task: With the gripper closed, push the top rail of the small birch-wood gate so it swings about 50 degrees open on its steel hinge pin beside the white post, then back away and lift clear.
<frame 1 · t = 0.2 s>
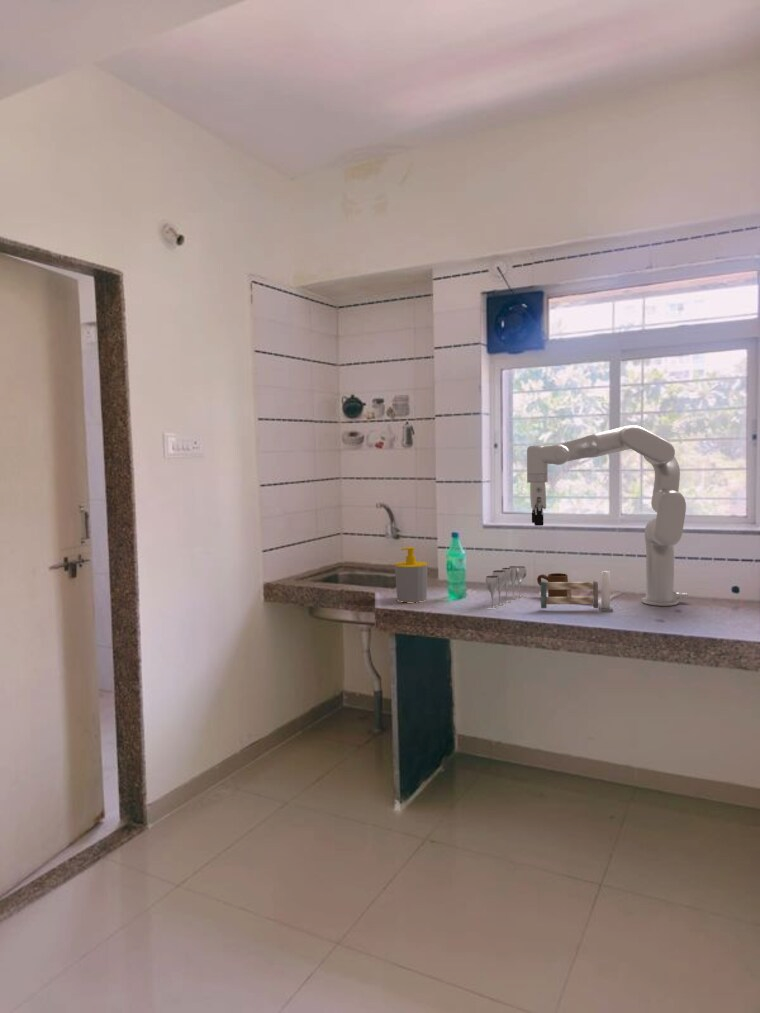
hand: (537, 524, 258), 30 cm above the worktop, tool pointing down, fingers open, 9 cm apart
gate post: (605, 610, 246), on the worktop
mug: (552, 598, 268), on the worktop
goblet set: (507, 602, 264), on the worktop
gate: (569, 594, 247), point 6 cm above the worktop, hinge at 0.0°
soap bottle: (411, 600, 272), on the worktop
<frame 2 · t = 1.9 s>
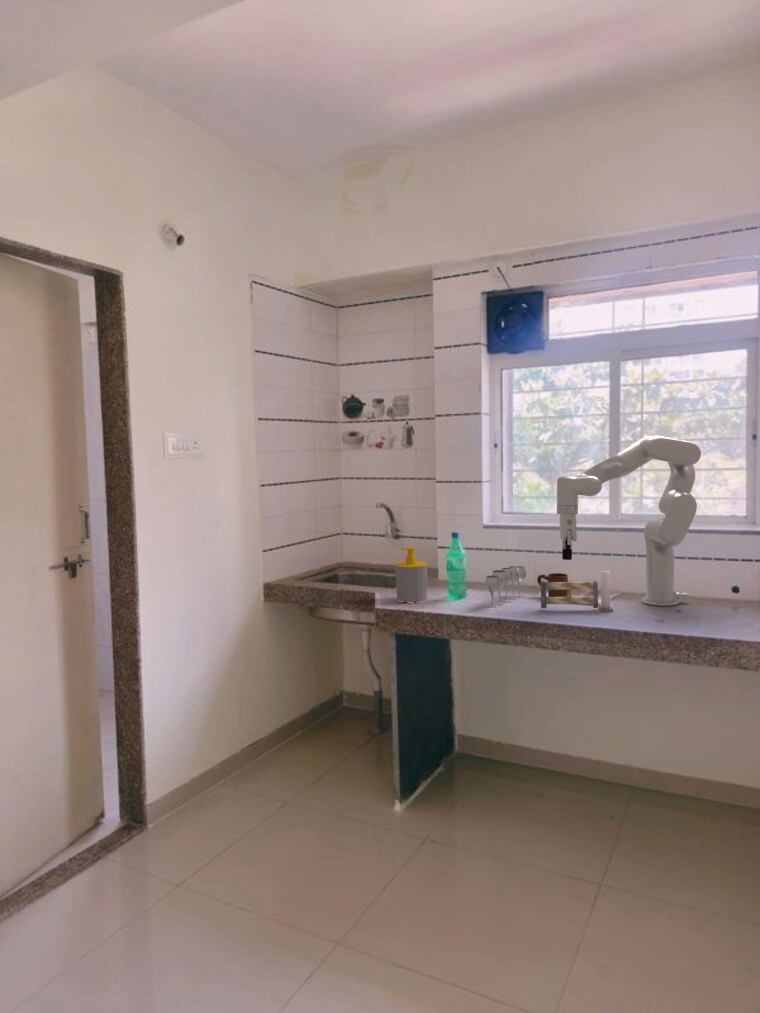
hand: (567, 559, 253), 17 cm above the worktop, tool pointing down, fingers closed
nothing on the worktop moved.
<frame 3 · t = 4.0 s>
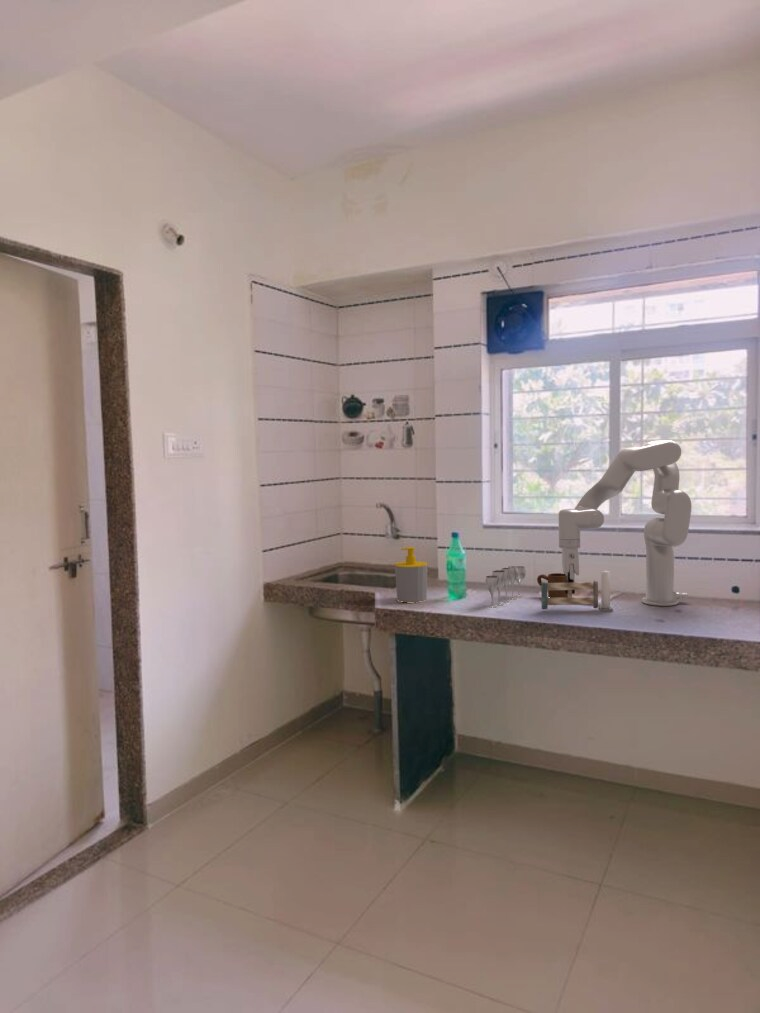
hand: (569, 593, 249), 6 cm above the worktop, tool pointing down, fingers closed
gate: (569, 595, 246), point 6 cm above the worktop, hinge at 5.3°, touching gripper
everything else where it was.
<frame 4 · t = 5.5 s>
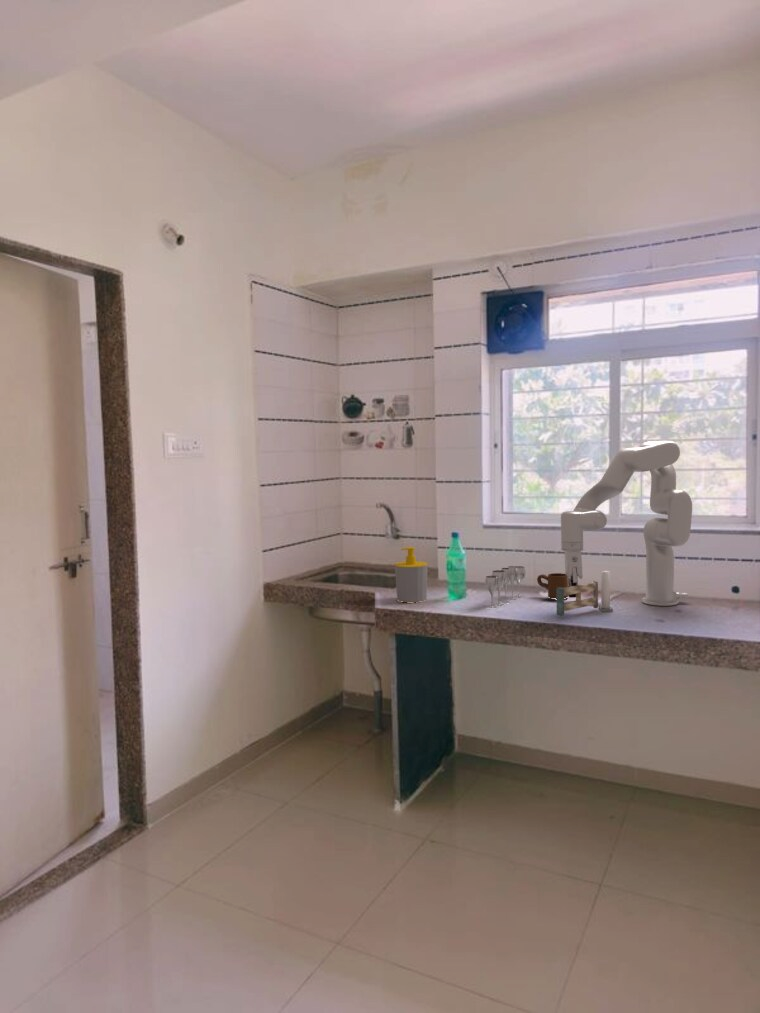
hand: (573, 596, 244), 5 cm above the worktop, tool pointing down, fingers closed
gate: (578, 598, 241), point 6 cm above the worktop, hinge at 39.9°, touching gripper
everything else where it was.
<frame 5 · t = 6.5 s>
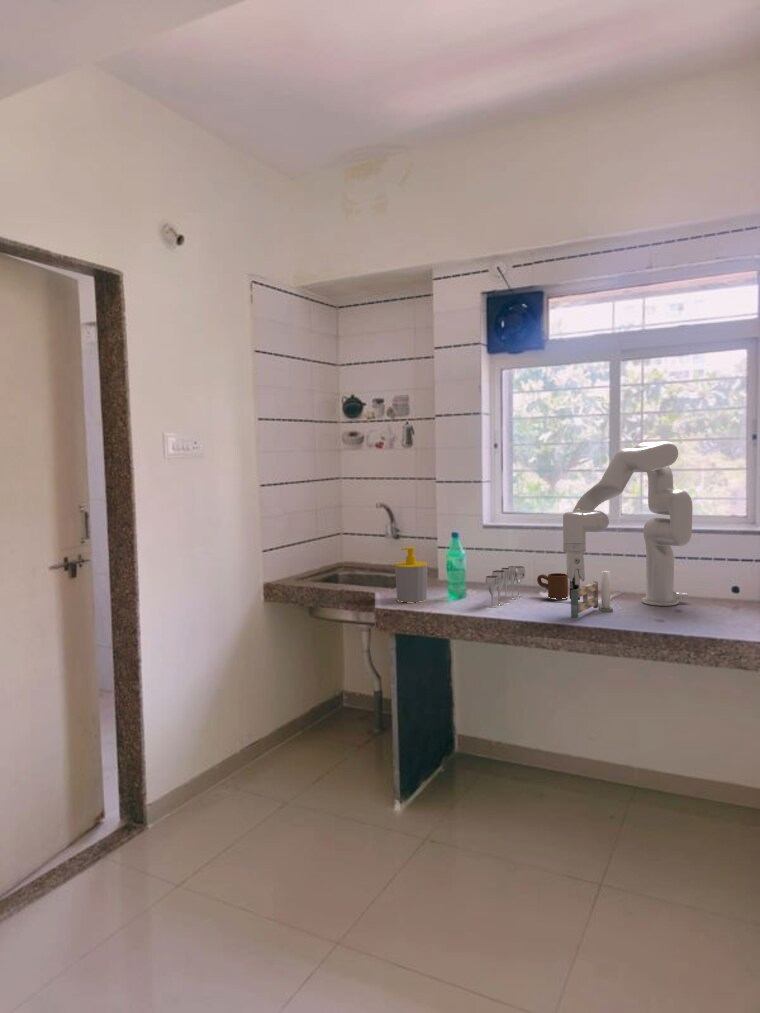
hand: (574, 599, 239), 6 cm above the worktop, tool pointing down, fingers closed
gate: (585, 599, 239), point 6 cm above the worktop, hinge at 57.4°, touching gripper
everything else where it was.
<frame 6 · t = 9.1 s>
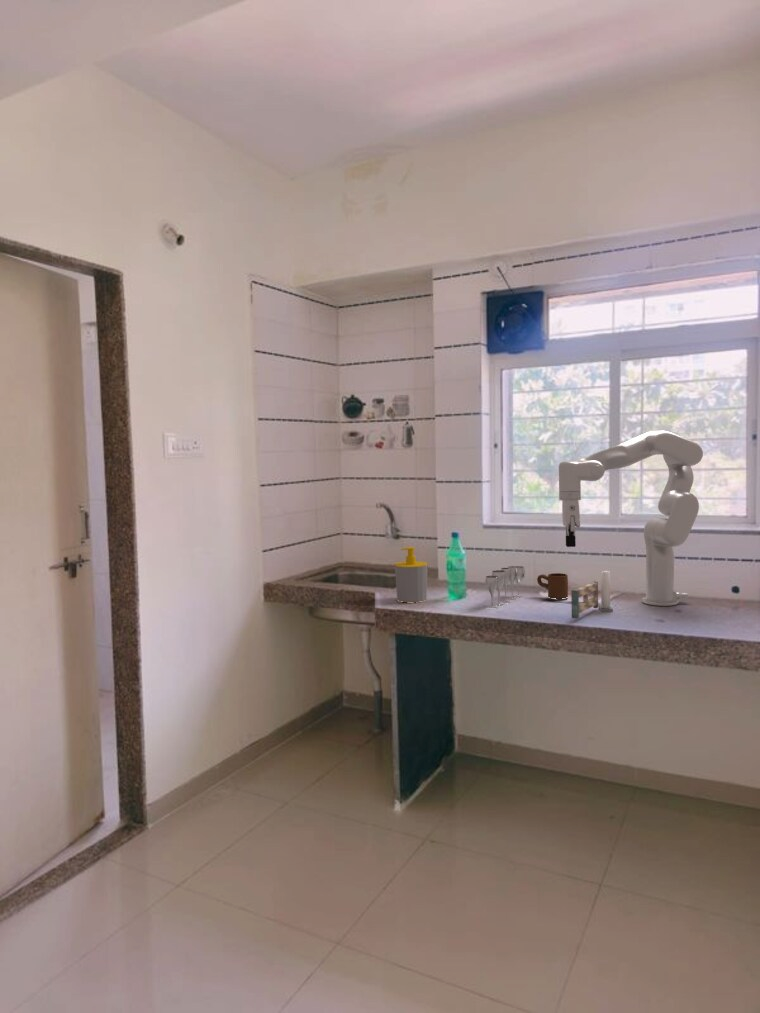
hand: (570, 546, 247), 23 cm above the worktop, tool pointing down, fingers closed
gate: (585, 599, 239), point 6 cm above the worktop, hinge at 58.0°
everything else where it was.
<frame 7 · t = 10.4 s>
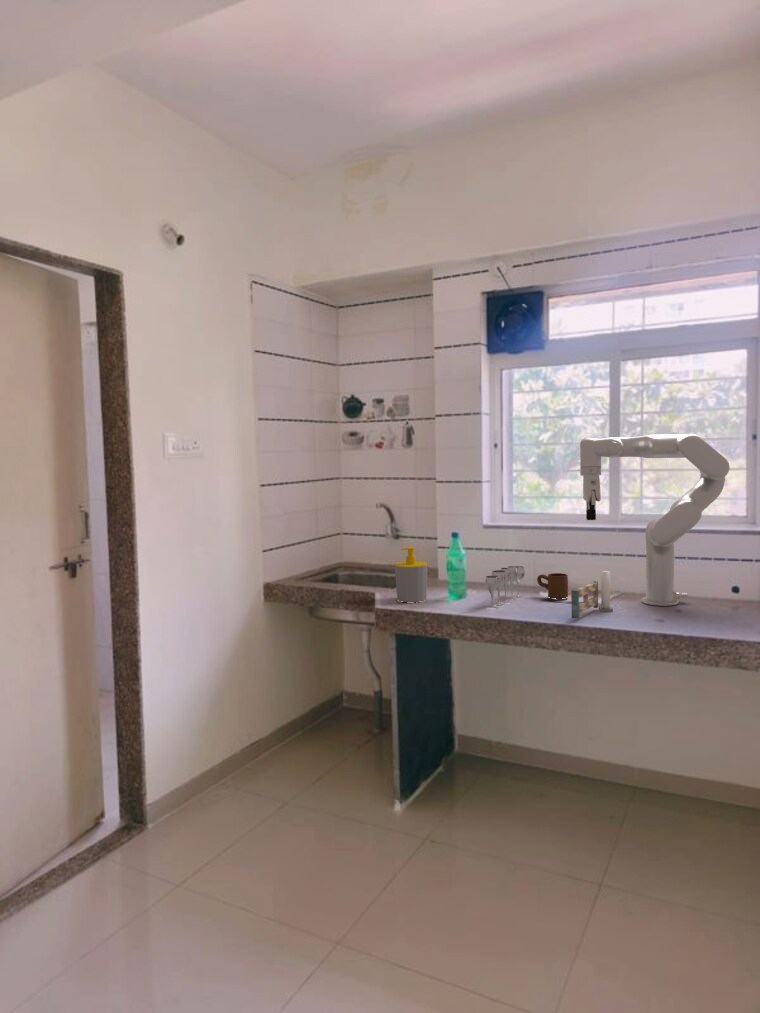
hand: (591, 519, 259), 31 cm above the worktop, tool pointing down, fingers closed
nothing on the worktop moved.
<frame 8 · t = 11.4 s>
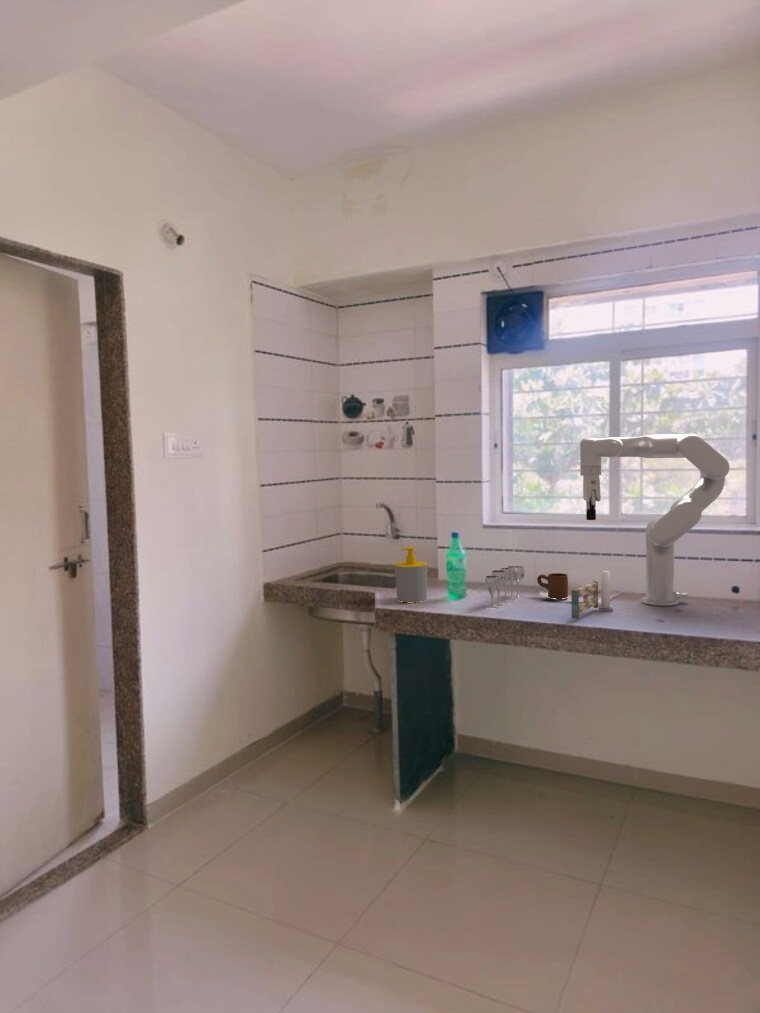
hand: (591, 519, 259), 31 cm above the worktop, tool pointing down, fingers closed
nothing on the worktop moved.
at the end: gate at +58° (first picture: +0°); mug moved 0.2 cm from its start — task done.
